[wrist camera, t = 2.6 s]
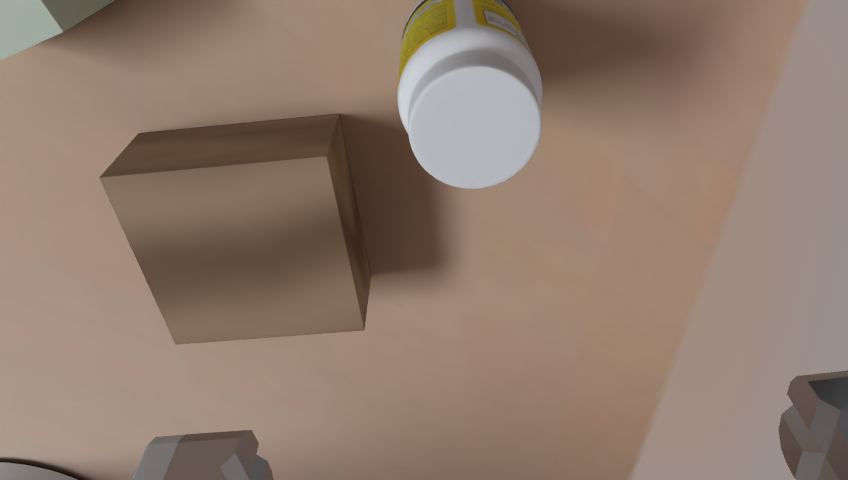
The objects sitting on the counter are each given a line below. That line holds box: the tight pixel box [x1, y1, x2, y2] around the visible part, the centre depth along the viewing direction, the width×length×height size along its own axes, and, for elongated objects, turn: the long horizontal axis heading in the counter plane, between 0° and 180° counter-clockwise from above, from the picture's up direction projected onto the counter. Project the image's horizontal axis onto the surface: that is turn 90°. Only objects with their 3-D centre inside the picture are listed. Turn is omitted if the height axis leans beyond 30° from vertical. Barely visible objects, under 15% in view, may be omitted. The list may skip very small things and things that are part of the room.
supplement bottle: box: [397, 0, 543, 189], centre depth 22 cm, size 5×5×8 cm
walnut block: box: [99, 114, 371, 344], centre depth 28 cm, size 9×9×4 cm
